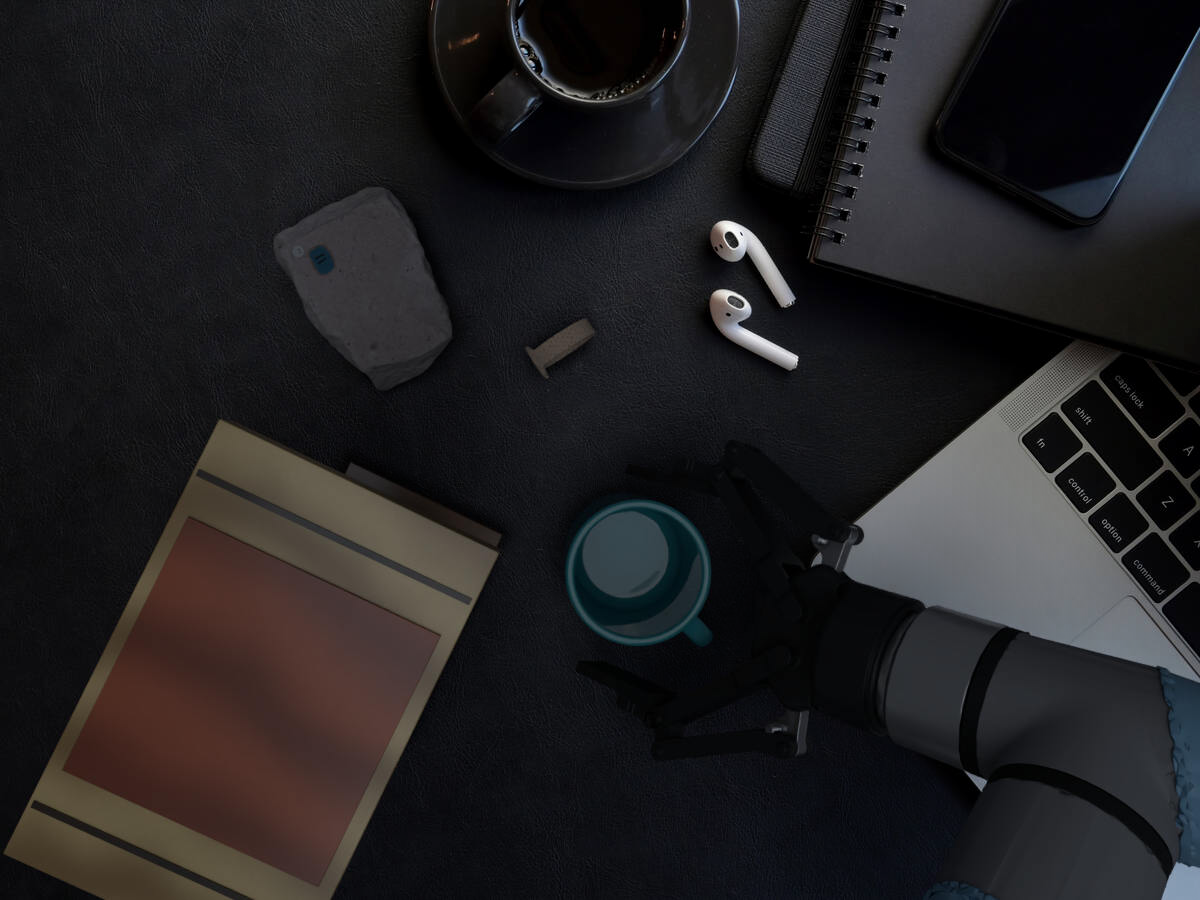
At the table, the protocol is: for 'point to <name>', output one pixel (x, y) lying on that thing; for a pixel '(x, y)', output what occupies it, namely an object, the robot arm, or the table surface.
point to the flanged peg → (560, 345)
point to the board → (254, 685)
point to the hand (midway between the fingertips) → (614, 568)
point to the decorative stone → (368, 285)
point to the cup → (637, 571)
